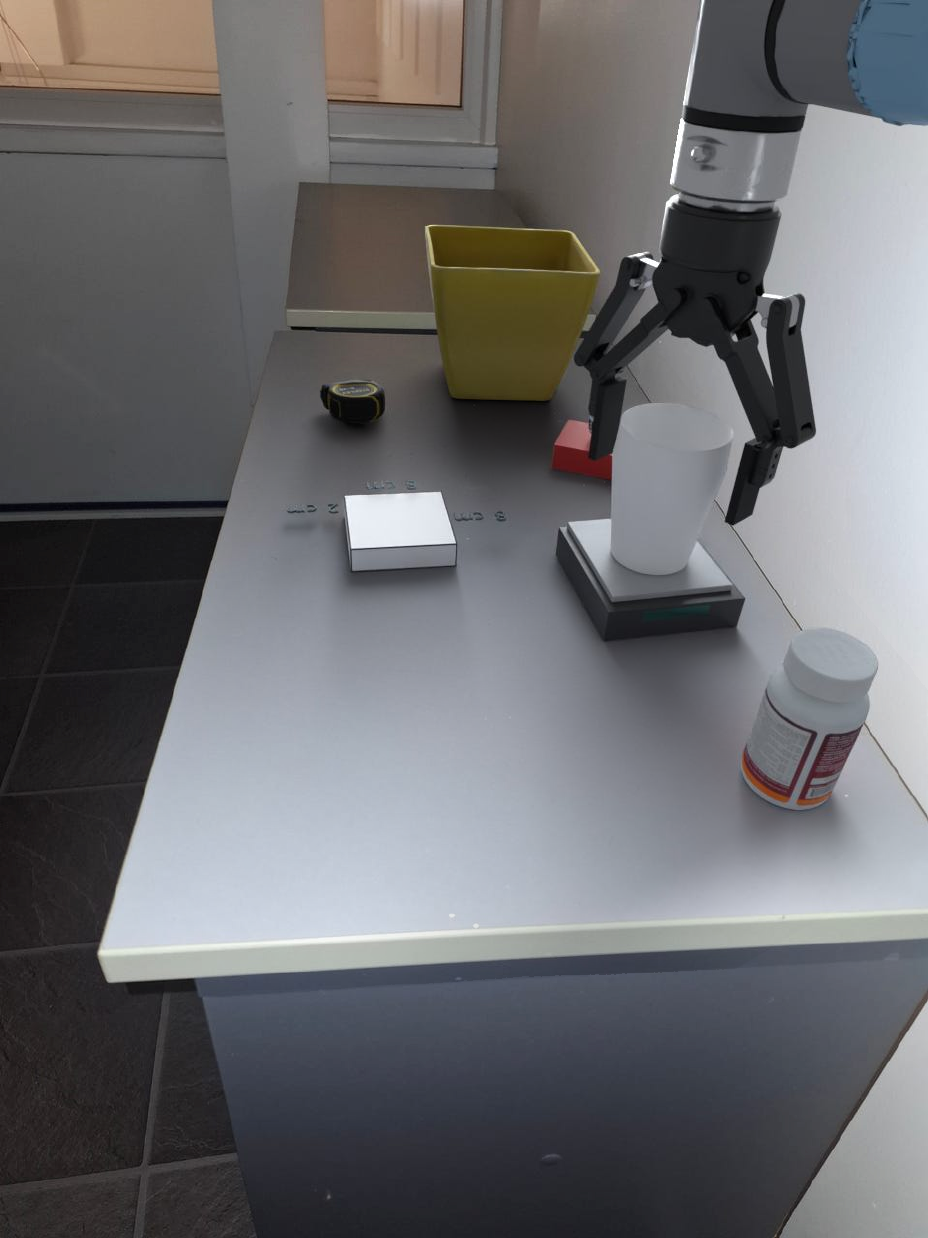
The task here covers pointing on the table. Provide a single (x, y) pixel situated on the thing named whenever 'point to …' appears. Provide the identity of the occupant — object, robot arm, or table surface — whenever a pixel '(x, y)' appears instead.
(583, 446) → the red rectangular block
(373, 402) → the tape measure
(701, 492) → the cup
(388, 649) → the table surface
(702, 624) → the scale
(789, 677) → the pill bottle
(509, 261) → the flower pot
